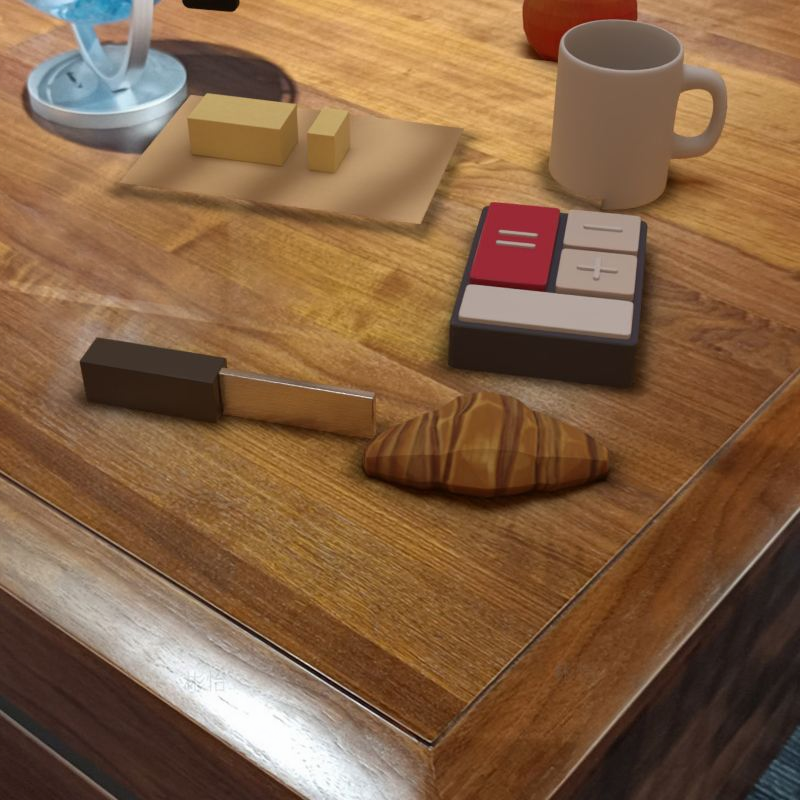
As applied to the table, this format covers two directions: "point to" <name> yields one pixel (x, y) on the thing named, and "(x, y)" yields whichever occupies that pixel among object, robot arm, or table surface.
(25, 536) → the table surface
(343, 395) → the knife
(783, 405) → the table surface
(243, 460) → the table surface
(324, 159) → the butter pat
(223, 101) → the butter stick
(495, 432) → the croissant
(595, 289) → the calculator
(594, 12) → the fruit
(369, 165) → the butter wrapper
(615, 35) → the mug
